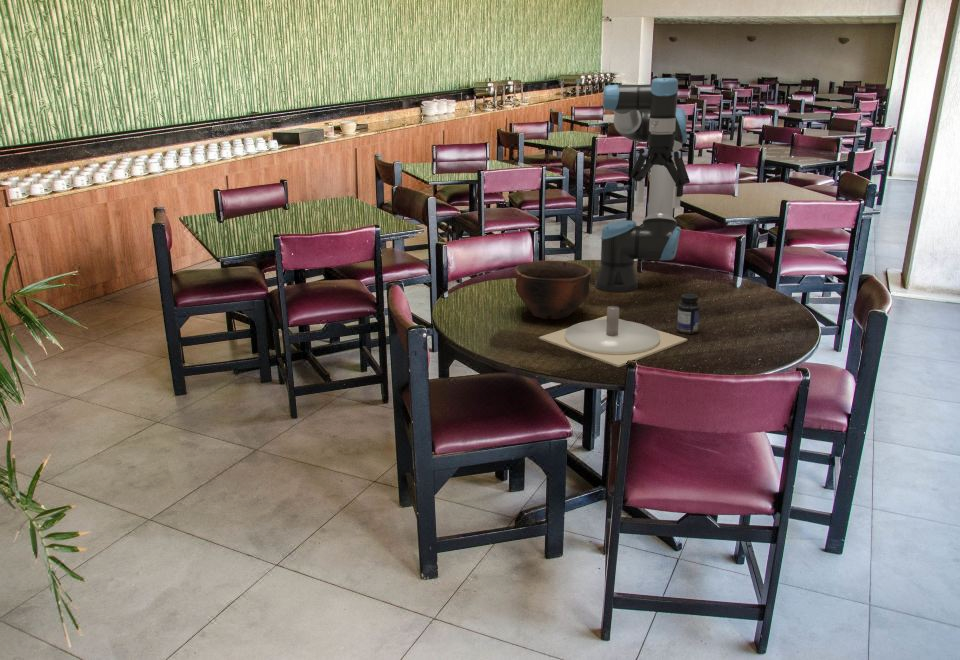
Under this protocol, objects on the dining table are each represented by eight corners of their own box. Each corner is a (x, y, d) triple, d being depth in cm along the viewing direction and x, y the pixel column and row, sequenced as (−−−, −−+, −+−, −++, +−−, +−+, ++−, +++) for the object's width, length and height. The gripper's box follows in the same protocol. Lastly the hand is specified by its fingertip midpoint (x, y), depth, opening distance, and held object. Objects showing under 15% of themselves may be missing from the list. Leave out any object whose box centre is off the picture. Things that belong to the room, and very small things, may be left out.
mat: (538, 338, 223) (538, 337, 222) (607, 317, 241) (607, 315, 241) (618, 367, 201) (618, 365, 201) (687, 340, 219) (687, 338, 219)
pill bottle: (691, 327, 230) (694, 292, 227) (701, 333, 225) (704, 297, 221) (672, 329, 229) (675, 293, 225) (682, 335, 223) (685, 299, 220)
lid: (545, 337, 222) (545, 307, 219) (606, 317, 238) (607, 289, 235) (618, 362, 202) (620, 329, 199) (679, 338, 219) (681, 308, 216)
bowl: (606, 312, 246) (608, 266, 241) (560, 331, 228) (561, 283, 223) (545, 298, 261) (545, 255, 257) (498, 315, 244) (497, 269, 239)
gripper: (620, 131, 232) (617, 201, 239) (689, 136, 214) (684, 211, 221) (636, 130, 237) (633, 198, 243) (705, 134, 218) (699, 208, 225)
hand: (657, 204), depth 232 cm, fingers open, 13 cm apart
